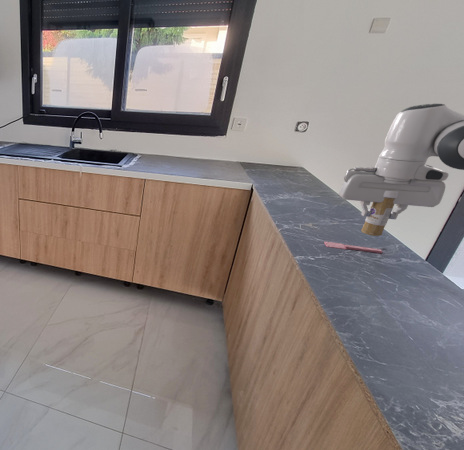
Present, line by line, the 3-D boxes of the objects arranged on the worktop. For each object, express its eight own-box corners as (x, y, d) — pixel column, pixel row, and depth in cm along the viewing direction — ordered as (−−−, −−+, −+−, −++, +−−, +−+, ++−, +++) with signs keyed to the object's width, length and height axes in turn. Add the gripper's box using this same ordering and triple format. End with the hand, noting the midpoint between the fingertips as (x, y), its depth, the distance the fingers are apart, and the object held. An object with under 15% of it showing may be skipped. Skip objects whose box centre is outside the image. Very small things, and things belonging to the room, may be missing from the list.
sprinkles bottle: (356, 230, 92) (373, 187, 86) (369, 229, 92) (387, 186, 87) (372, 237, 88) (391, 191, 82) (386, 235, 88) (406, 190, 83)
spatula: (377, 249, 98) (378, 247, 98) (383, 255, 95) (384, 253, 95) (323, 242, 104) (324, 240, 104) (327, 247, 101) (327, 245, 100)
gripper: (352, 168, 84) (335, 216, 89) (458, 174, 76) (433, 226, 81) (344, 164, 89) (329, 209, 95) (442, 169, 81) (419, 218, 87)
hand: (378, 217), depth 88 cm, fingers closed on sprinkles bottle, 4 cm apart
